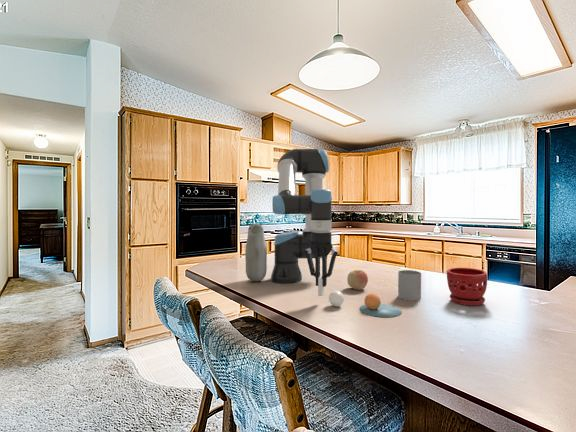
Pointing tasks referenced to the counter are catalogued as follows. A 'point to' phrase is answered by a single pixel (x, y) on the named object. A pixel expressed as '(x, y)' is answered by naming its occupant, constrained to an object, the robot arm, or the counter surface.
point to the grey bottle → (256, 253)
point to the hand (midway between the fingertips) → (321, 294)
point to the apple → (357, 279)
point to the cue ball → (336, 298)
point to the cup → (409, 285)
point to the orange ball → (372, 301)
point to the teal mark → (382, 311)
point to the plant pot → (467, 285)
